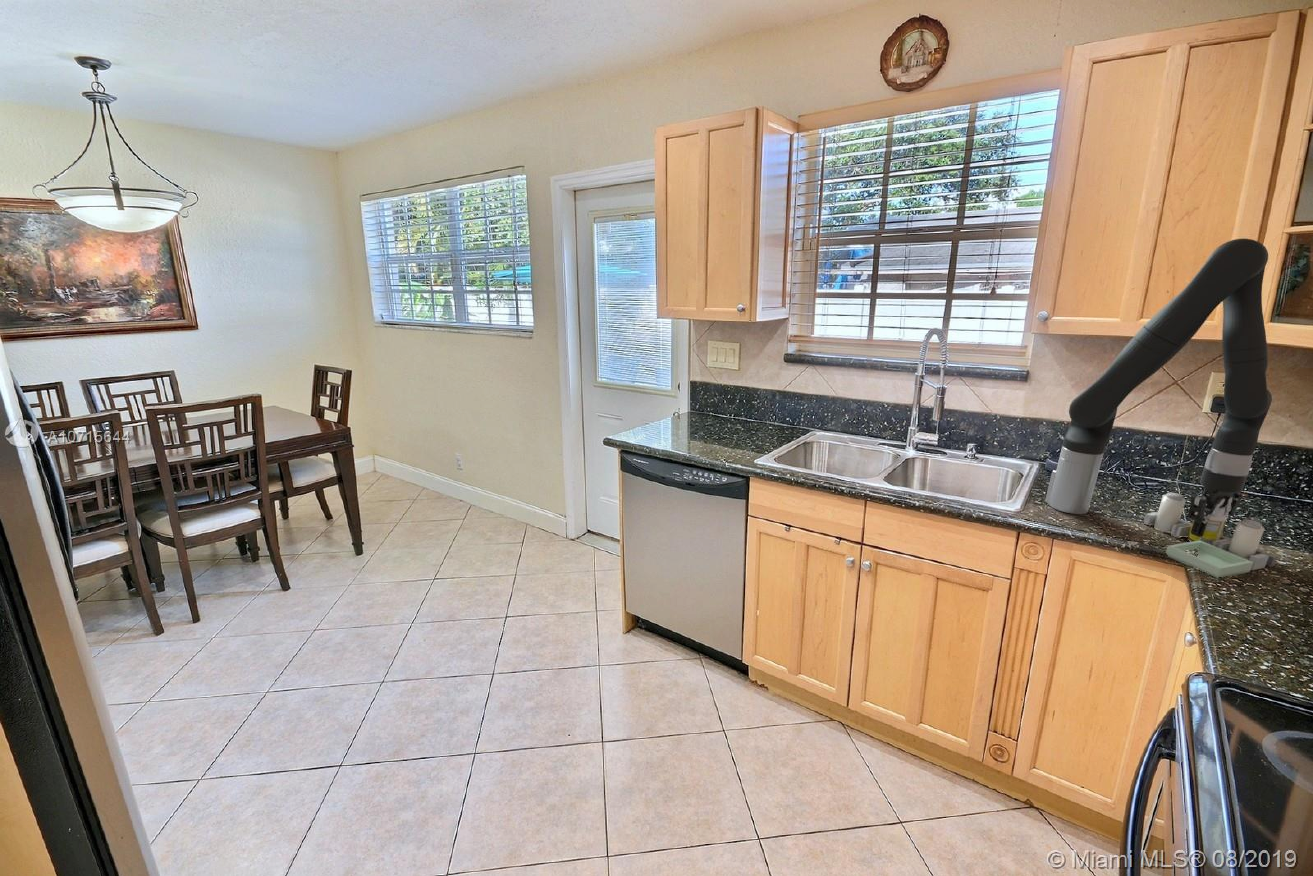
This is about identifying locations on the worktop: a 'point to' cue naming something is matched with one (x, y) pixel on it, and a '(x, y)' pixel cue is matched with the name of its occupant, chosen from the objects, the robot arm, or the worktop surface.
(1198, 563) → the tray
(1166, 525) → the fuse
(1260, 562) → the fuse holder
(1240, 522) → the fuse
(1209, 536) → the supplement bottle
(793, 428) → the worktop surface
